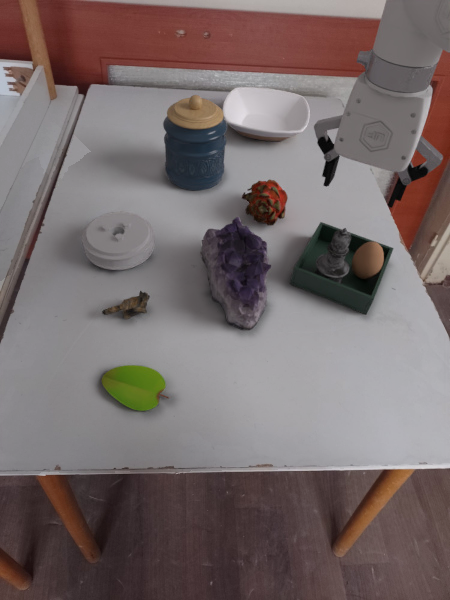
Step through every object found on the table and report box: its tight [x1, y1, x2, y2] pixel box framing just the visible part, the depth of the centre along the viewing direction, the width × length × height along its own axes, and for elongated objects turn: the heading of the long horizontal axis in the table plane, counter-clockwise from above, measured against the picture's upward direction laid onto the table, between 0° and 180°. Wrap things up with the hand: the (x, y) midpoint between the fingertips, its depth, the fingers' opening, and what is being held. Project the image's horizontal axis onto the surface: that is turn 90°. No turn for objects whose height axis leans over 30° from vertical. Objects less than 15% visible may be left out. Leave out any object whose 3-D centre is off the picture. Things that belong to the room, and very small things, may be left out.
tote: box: [289, 221, 394, 315], centre depth 81 cm, size 14×14×4 cm
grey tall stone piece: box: [314, 227, 351, 284], centre depth 76 cm, size 6×6×12 cm
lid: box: [81, 211, 155, 271], centre depth 82 cm, size 13×13×5 cm
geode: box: [200, 216, 272, 331], centre depth 76 cm, size 20×12×10 cm, turn 12°
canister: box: [162, 94, 228, 191], centre depth 93 cm, size 13×13×18 cm
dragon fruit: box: [241, 179, 288, 227], centre depth 90 cm, size 8×8×12 cm
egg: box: [352, 241, 384, 279], centre depth 79 cm, size 5×5×8 cm
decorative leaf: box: [101, 364, 170, 412], centre depth 65 cm, size 8×9×1 cm
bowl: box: [221, 86, 311, 142], centre depth 113 cm, size 22×22×5 cm
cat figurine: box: [101, 290, 151, 320], centre depth 73 cm, size 3×8×4 cm, turn 105°
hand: (359, 191), depth 66 cm, fingers open, 9 cm apart
